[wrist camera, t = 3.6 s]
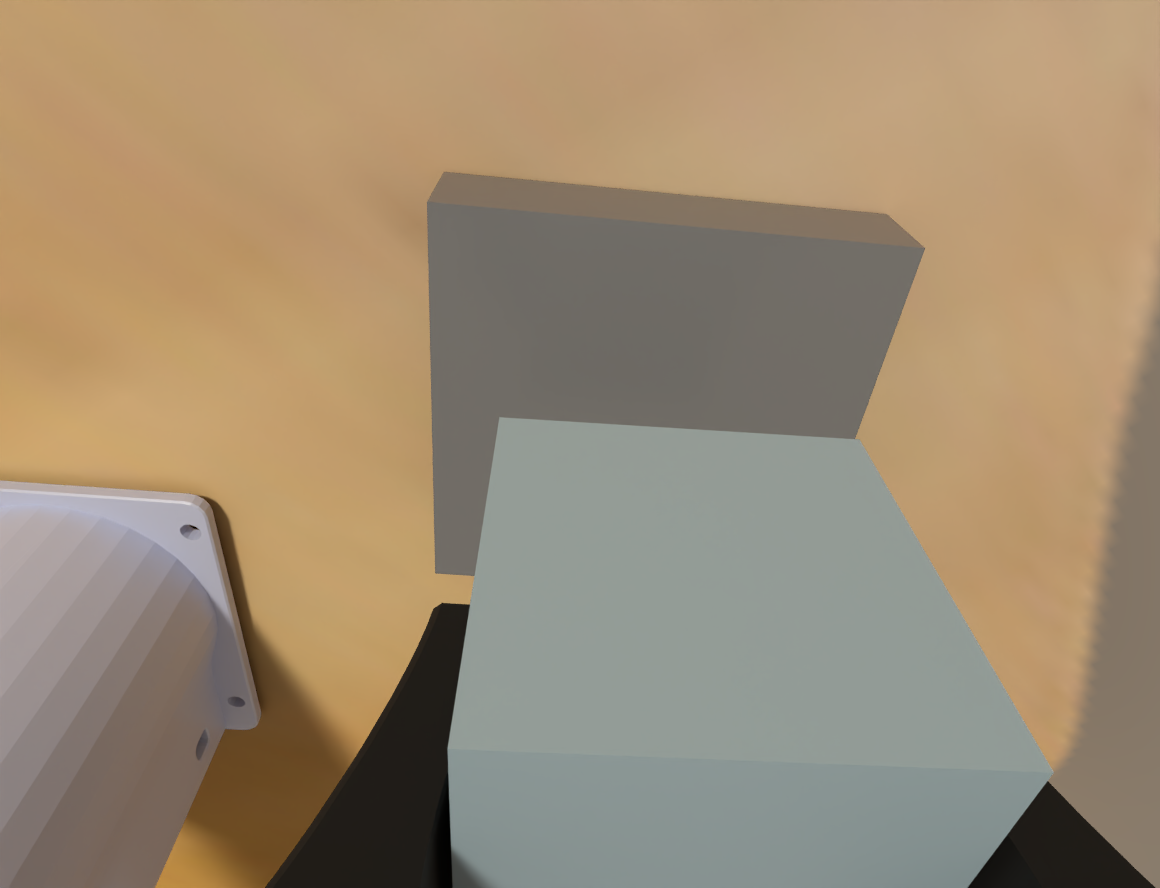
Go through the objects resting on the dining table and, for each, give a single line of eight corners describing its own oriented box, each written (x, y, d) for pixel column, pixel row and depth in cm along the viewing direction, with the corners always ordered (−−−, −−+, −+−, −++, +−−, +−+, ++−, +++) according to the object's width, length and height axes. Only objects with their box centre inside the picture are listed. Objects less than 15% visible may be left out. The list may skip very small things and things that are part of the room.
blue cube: (777, 674, 13) (873, 1012, 9) (494, 661, 13) (457, 1003, 9) (859, 439, 10) (1054, 772, 6) (499, 417, 10) (448, 749, 6)
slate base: (778, 542, 20) (797, 596, 18) (447, 519, 20) (435, 573, 18) (887, 214, 15) (924, 247, 13) (444, 171, 15) (427, 201, 13)
